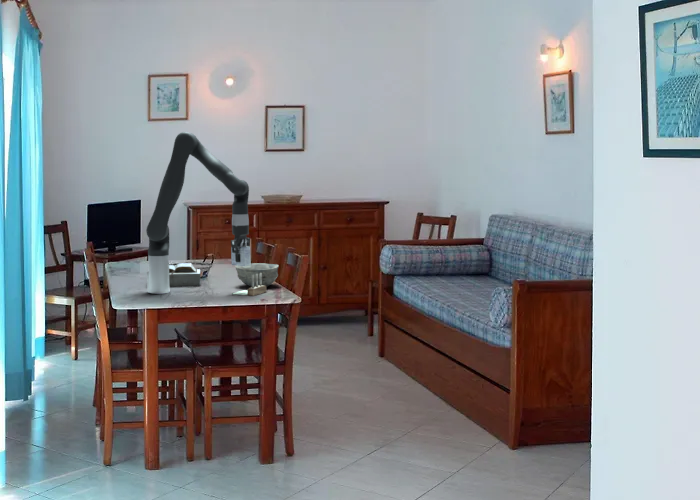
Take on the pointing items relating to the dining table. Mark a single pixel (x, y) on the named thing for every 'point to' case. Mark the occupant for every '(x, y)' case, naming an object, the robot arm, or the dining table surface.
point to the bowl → (267, 272)
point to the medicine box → (242, 257)
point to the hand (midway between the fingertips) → (240, 261)
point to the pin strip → (256, 289)
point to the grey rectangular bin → (184, 275)
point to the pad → (241, 292)
